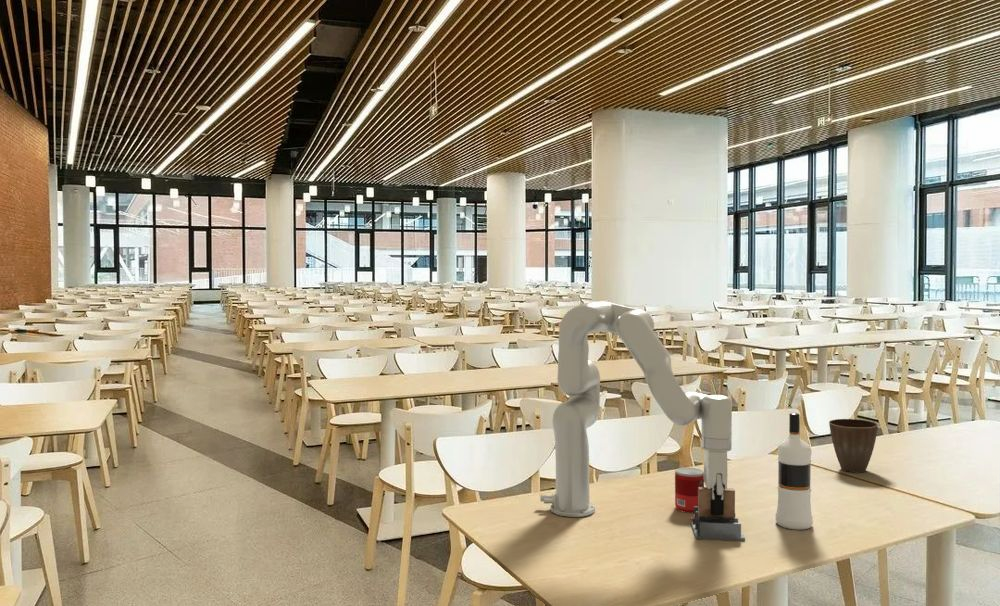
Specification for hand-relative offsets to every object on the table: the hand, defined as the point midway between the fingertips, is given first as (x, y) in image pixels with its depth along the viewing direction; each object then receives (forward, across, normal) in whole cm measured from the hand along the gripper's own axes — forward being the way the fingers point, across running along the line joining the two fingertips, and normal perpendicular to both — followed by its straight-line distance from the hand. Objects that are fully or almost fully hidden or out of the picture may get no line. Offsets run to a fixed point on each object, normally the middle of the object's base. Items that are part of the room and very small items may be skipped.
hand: (716, 512), depth 198 cm
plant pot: (+5, -66, +54) cm, 85 cm away
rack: (+5, 0, 0) cm, 5 cm away
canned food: (+5, -18, -5) cm, 19 cm away
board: (+4, 0, 0) cm, 4 cm away
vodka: (+5, -7, +21) cm, 23 cm away
